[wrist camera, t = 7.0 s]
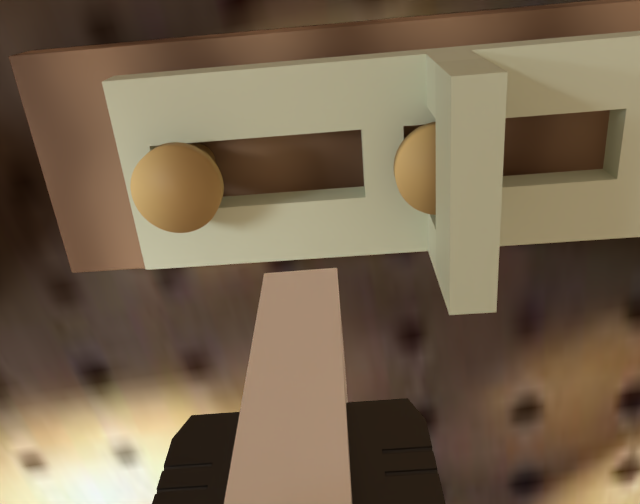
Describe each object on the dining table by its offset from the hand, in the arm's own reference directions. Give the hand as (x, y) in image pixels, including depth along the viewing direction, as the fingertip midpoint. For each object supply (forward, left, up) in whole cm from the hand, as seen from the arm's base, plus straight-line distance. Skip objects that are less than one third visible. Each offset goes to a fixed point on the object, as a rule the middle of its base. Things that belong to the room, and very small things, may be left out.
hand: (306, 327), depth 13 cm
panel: (+2, +1, -14) cm, 14 cm away
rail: (+1, 0, -17) cm, 17 cm away
